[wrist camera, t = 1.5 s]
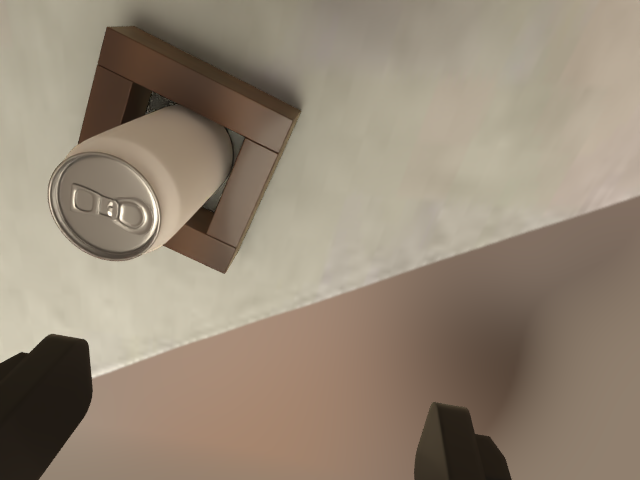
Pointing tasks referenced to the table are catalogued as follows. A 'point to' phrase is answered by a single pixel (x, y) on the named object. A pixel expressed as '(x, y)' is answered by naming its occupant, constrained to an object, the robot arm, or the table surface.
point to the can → (139, 182)
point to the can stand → (209, 101)
